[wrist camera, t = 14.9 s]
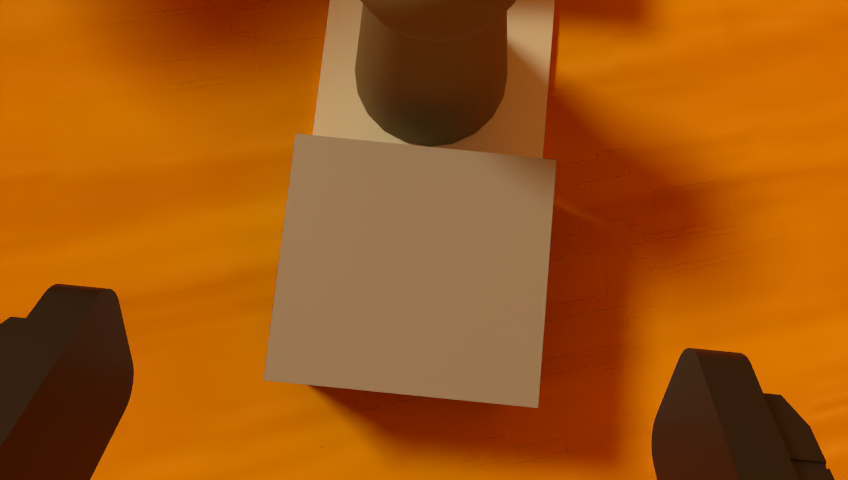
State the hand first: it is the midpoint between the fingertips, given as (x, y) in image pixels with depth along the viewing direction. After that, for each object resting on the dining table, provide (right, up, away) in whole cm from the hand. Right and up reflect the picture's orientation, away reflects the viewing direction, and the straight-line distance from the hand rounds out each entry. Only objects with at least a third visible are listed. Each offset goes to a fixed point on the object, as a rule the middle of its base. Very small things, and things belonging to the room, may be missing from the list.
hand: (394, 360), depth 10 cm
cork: (+1, +8, +18) cm, 20 cm away
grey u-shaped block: (+1, +8, +19) cm, 21 cm away
